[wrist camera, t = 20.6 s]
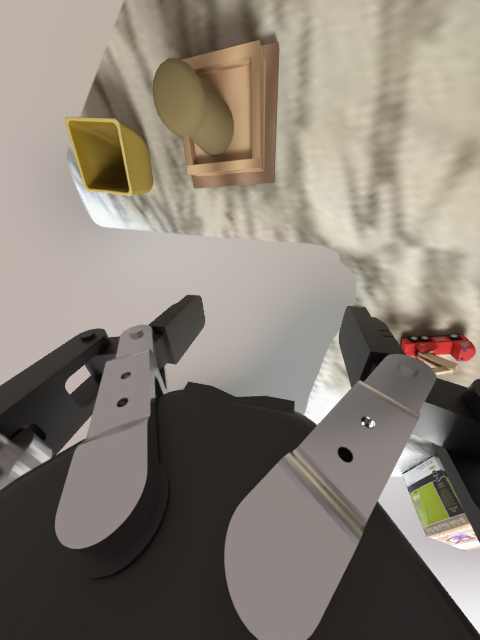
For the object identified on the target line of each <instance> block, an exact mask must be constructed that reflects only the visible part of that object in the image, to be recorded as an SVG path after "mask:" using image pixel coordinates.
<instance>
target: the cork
mask: <svg viewBox="0 0 480 640" xmlns="http://www.w3.org/2000/svg"><path fill="white" fill-rule="evenodd" d="M153 97H154V103H155V107H156V110H157V113H158V115H159V117H160V118H161V120H162V122H163V123H164V125H165V126H166V127H167V128H168V129H169V130H170V131H171V132H173V133H175V134H177V135H180V136H188V137H189V138H190V139H191V140H192V141H193V142H194V143H195V144H196V145H197V146H198V147H199V148H200V149H201V150H202V151H204V152H205V153H206V154H208V155H210V156H218V155H220V154H223V153H224V152H225V151H226V150H227V149H228V147H229V145H230V143H231V142H232V138H233V134H234V121H233V116H232V113H231V111H230V109H229V106H228V105H227V104H226V103H225V102H224V101H223V100H222V99H221V98H219V97H218V96H216V95H214V94H213V93H211V92H210V91H208V90H207V89H205V88H204V87H203V85H202V82H201V81H200V79H199V77H198V75H197V73H196V72H195V70H194V69H193V68H192V67H191V66H190V65H189V64H188V63H187V62H185V61H182V60H180V59H178V58H169V59H167V60H166V61H164V62H163V63H162V64H160V66H159V68H158V69H157V71H156V73H155V77H154V80H153Z"/></svg>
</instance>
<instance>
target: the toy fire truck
mask: <svg viewBox="0 0 480 640" xmlns="http://www.w3.org/2000/svg"><path fill="white" fill-rule="evenodd" d="M401 348H402V349H403V351H404V352H405V353H406V355H407V356H413V355H414V356H415V357H416V359H418V360H420V361H422V362H424V361H425V362H426V363H428V364H430V365H432V366H434V367H436V368H431V369H432V370H433V371H434V372H435V374H436V375H439V374H444V373H449V374H452V373H453V372H454V371H455V370H456V369H457V366H458V364H457V363H454V362H452V361H449V360H446V359H444V358H441V357H438V356H436V355H440V354H451V355H452V356H453V357H454V358H455V359H456V360H457V361H468V360H470V359H471V358H472V357H473V356H474V355H475V353H476V349H475V347H474V345H473V344H472V342H470V341H469V340H468V339H467V338H466V337H465V336H463V335H459V336H458V335H456V334H449V335H448V337H447V336H439V337H430V338H429V337H427V336H421V337H420V340H419V339H418V338H417V337H415V336H412V337H410V338H409V340H408V339H407V338H406V339H402V343H401Z"/></svg>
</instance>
